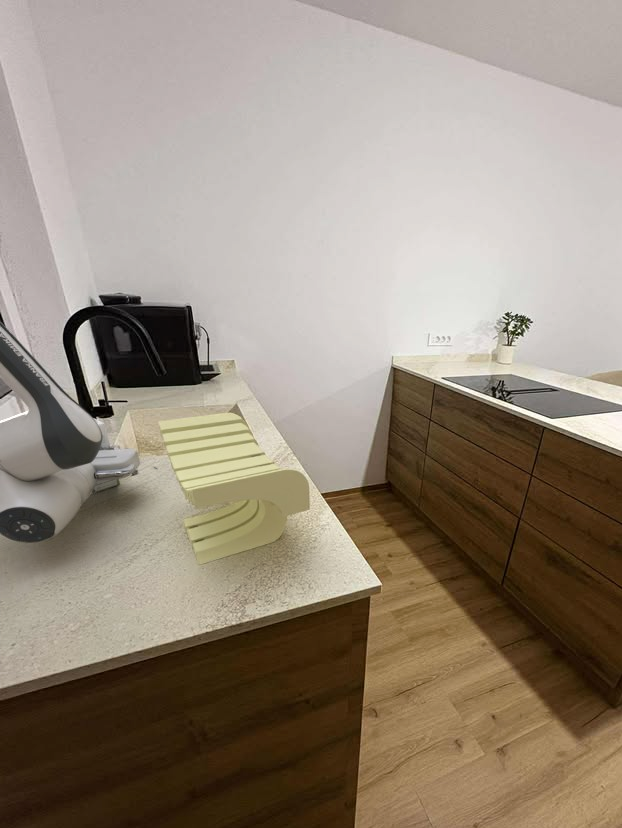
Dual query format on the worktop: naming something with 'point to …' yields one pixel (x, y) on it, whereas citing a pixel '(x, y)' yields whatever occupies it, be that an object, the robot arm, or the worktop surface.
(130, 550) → the worktop surface
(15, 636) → the worktop surface
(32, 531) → the robot arm
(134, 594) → the worktop surface
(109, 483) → the syrup box
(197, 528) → the slatted curved stool
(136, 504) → the worktop surface
